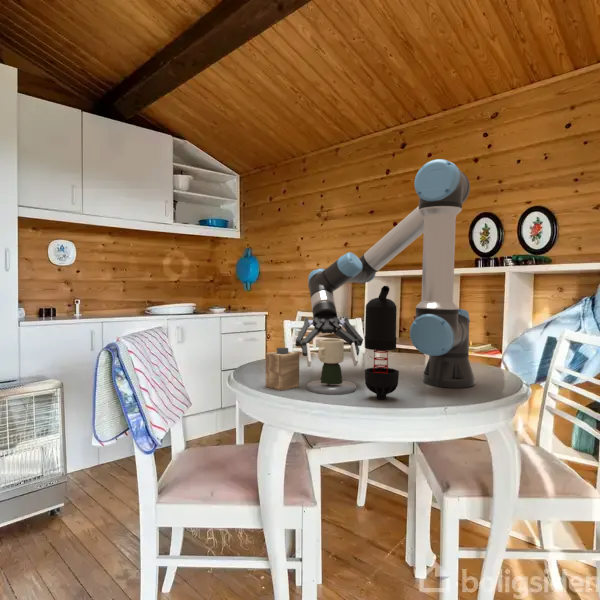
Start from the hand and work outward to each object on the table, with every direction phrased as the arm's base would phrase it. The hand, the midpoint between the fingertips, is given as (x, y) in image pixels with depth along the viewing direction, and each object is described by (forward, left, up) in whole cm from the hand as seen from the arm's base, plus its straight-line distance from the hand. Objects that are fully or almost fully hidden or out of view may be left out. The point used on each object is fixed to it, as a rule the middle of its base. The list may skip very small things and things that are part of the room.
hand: (332, 364), depth 126 cm
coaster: (+2, -2, -8) cm, 8 cm away
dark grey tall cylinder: (+14, +6, -6) cm, 16 cm away
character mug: (+2, -2, -7) cm, 7 cm away
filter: (-14, -3, -8) cm, 16 cm away
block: (+14, +6, -8) cm, 17 cm away
